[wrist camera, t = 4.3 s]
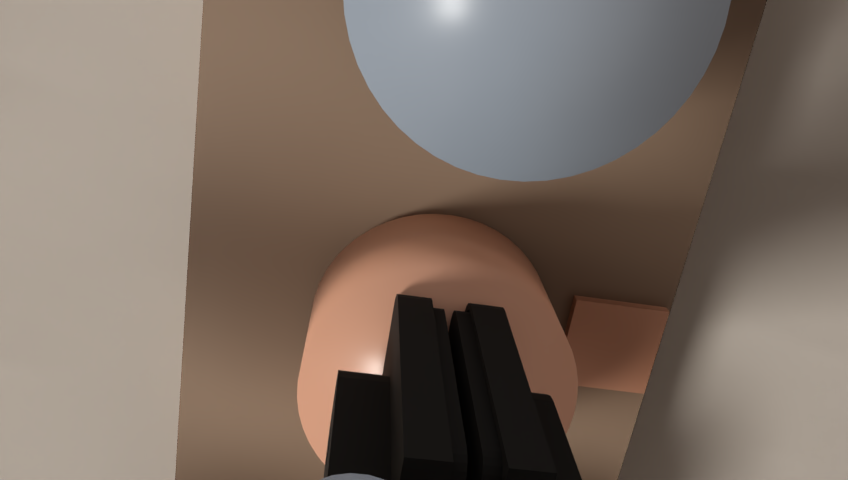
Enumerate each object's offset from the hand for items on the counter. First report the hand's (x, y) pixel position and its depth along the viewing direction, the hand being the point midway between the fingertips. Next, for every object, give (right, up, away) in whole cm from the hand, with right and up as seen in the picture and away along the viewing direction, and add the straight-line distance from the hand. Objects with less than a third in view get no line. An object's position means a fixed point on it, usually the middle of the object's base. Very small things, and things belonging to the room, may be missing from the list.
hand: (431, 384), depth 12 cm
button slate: (+1, +6, -1) cm, 6 cm away
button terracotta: (0, +1, +2) cm, 2 cm away
